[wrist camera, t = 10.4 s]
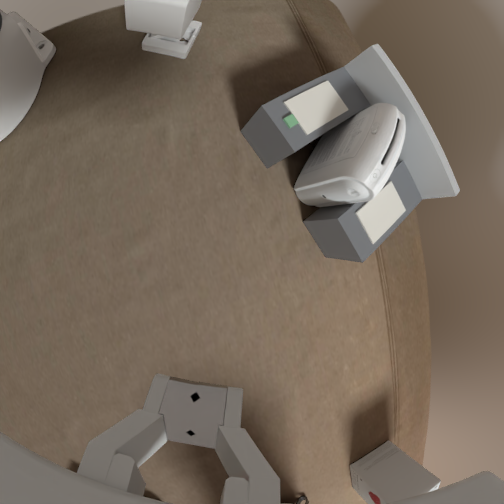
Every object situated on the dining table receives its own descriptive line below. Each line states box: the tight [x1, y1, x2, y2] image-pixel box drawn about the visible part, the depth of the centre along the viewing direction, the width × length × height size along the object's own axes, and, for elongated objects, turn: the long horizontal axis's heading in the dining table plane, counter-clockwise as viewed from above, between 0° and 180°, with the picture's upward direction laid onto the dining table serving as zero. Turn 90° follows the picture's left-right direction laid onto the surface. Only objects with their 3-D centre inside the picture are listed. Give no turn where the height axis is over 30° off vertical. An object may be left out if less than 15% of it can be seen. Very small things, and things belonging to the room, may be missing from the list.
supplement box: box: [350, 440, 441, 504], centre depth 33 cm, size 9×9×15 cm
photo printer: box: [294, 103, 406, 207], centre depth 27 cm, size 10×4×12 cm, turn 149°
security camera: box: [124, 0, 202, 59], centre depth 21 cm, size 6×7×10 cm
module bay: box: [241, 44, 460, 263], centre depth 27 cm, size 17×13×12 cm
